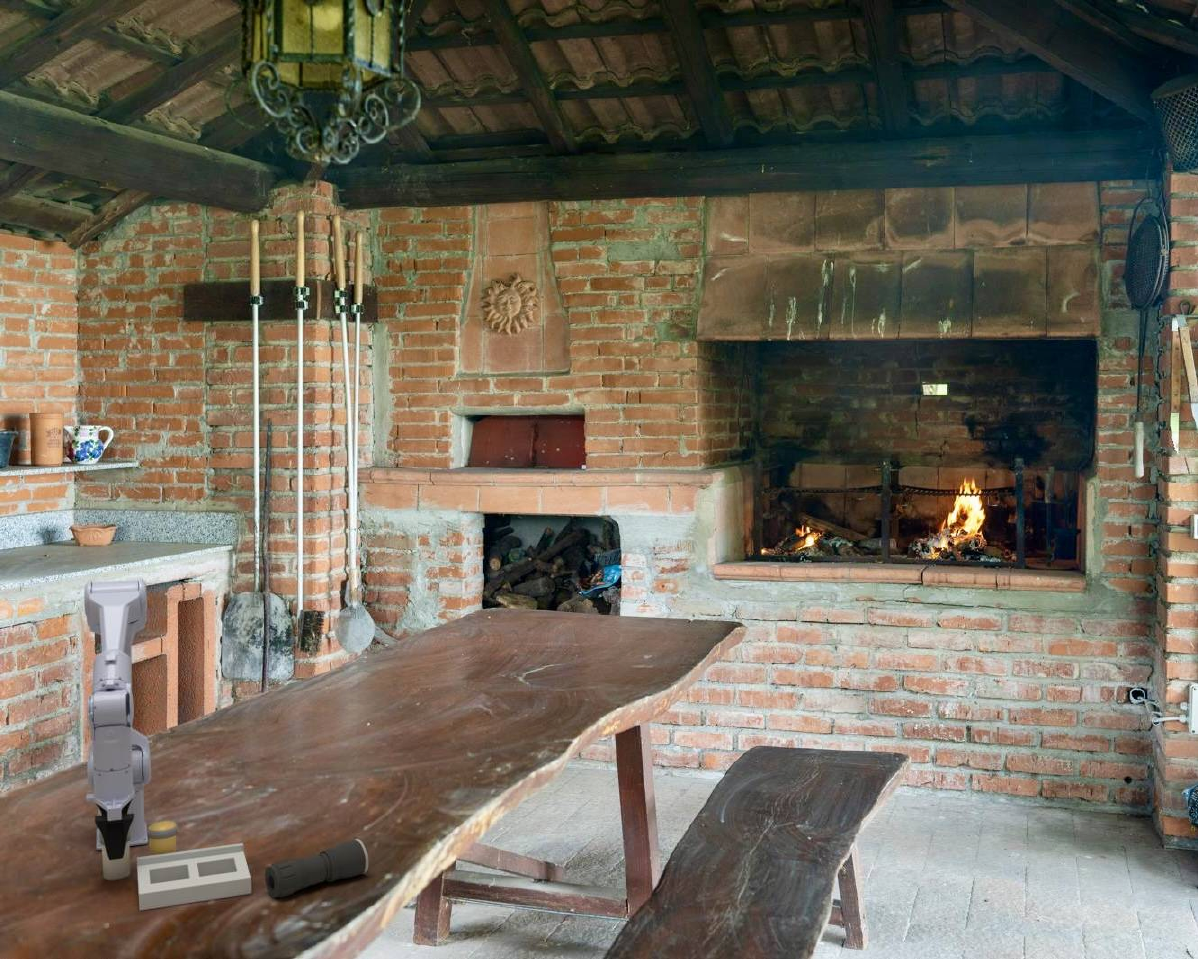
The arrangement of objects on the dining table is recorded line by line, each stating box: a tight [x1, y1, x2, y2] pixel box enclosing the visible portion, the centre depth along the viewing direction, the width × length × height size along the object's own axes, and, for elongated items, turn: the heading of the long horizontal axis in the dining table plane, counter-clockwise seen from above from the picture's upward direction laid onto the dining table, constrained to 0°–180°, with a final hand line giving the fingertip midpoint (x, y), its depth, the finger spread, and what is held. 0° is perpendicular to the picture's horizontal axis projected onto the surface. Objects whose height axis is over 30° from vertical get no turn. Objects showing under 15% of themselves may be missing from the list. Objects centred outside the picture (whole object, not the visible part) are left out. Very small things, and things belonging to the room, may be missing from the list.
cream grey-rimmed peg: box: [99, 829, 131, 881], centre depth 195 cm, size 5×5×7 cm
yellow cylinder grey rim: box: [147, 820, 179, 856], centre depth 198 cm, size 5×5×7 cm
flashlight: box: [264, 838, 369, 899], centre depth 192 cm, size 15×5×5 cm, turn 129°
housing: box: [136, 842, 252, 911], centre depth 191 cm, size 12×16×4 cm
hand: (115, 849), depth 195 cm, fingers open, 7 cm apart
